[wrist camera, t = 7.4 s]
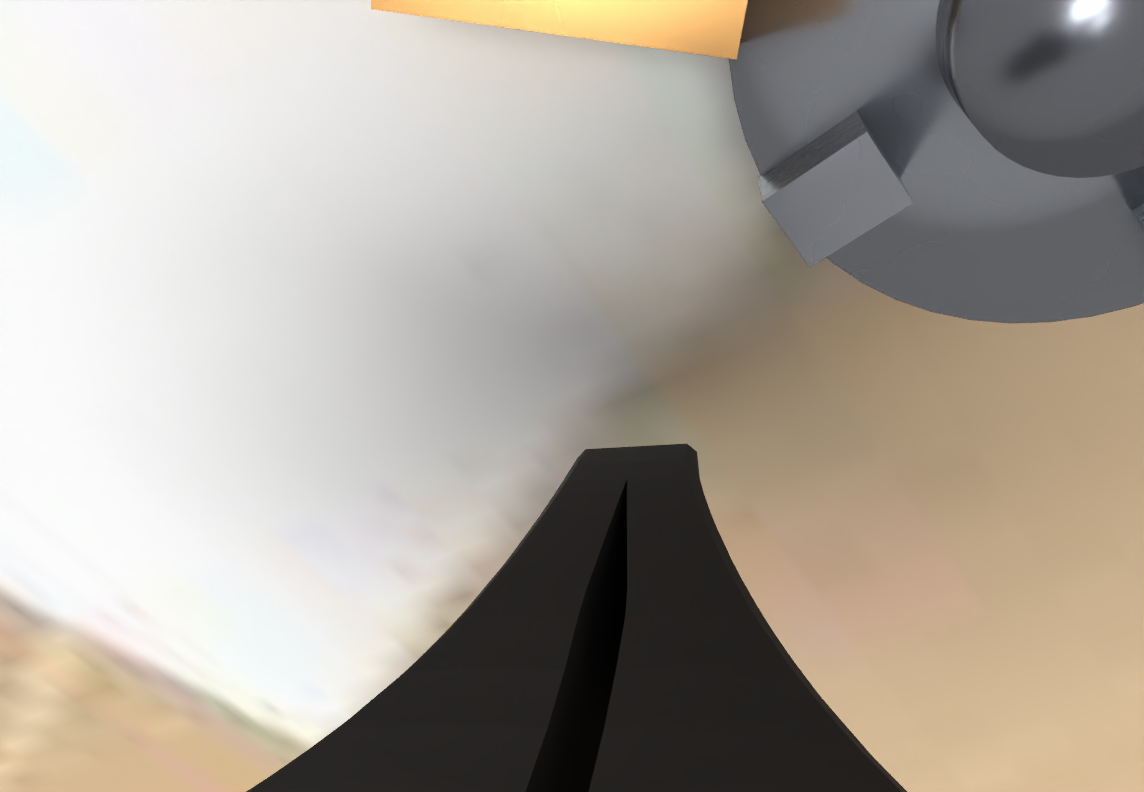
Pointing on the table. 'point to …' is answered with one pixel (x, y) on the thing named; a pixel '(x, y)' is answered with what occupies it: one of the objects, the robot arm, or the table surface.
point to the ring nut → (920, 135)
